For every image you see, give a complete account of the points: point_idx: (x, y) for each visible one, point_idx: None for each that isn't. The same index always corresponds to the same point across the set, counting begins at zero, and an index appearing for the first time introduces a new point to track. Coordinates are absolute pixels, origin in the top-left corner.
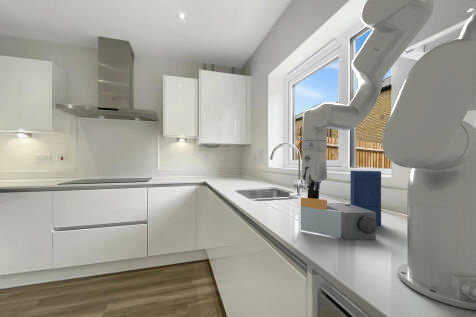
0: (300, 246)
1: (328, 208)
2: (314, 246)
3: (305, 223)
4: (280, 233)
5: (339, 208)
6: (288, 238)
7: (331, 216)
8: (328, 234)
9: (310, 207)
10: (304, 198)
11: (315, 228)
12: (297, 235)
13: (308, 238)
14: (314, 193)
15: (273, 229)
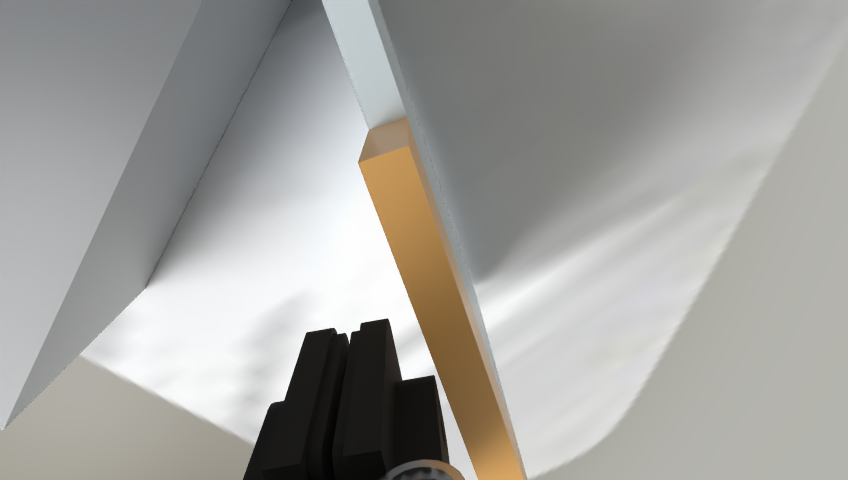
0: (771, 93)
1: (96, 255)
2: (691, 23)
3: (470, 284)
4: (641, 347)
5: (61, 77)
6: (690, 247)
7: (385, 41)
8: (399, 65)
9: (477, 324)
10: (524, 476)
11: (438, 186)
12: (576, 247)
13: (567, 155)
14: (407, 446)
15: (606, 430)
